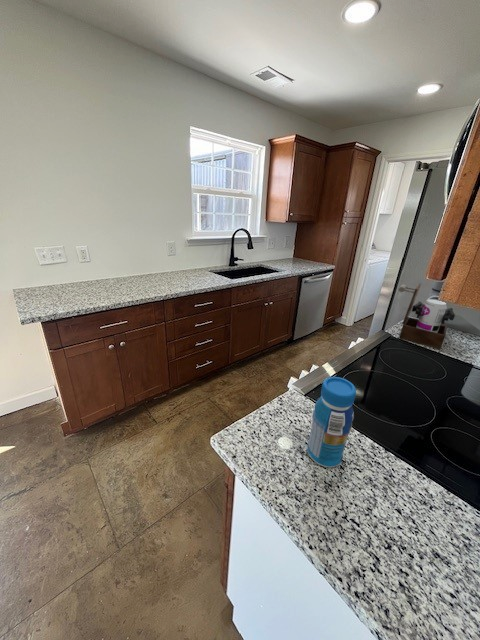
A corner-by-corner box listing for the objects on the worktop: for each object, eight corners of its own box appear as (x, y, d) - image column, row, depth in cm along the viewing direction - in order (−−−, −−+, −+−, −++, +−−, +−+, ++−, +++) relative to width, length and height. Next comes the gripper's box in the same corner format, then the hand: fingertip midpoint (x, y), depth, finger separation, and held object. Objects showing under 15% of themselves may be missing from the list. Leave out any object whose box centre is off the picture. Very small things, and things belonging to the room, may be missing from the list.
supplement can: (418, 335, 116) (429, 303, 110) (412, 328, 123) (422, 297, 117) (439, 338, 114) (451, 306, 108) (432, 330, 122) (443, 299, 115)
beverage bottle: (299, 450, 64) (310, 383, 56) (319, 433, 69) (332, 369, 61) (329, 476, 58) (347, 405, 50) (349, 455, 63) (368, 387, 55)
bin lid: (421, 283, 119) (404, 279, 123) (417, 289, 110) (399, 285, 114) (408, 316, 126) (392, 311, 130) (404, 324, 117) (387, 319, 121)
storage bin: (442, 339, 121) (447, 326, 118) (440, 350, 112) (445, 335, 109) (403, 329, 129) (407, 316, 127) (398, 338, 120) (402, 324, 118)
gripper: (459, 317, 124) (458, 333, 107) (408, 305, 135) (400, 319, 119) (465, 302, 121) (465, 316, 104) (413, 291, 132) (405, 303, 116)
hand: (430, 318), depth 112 cm, fingers closed on supplement can, 8 cm apart
